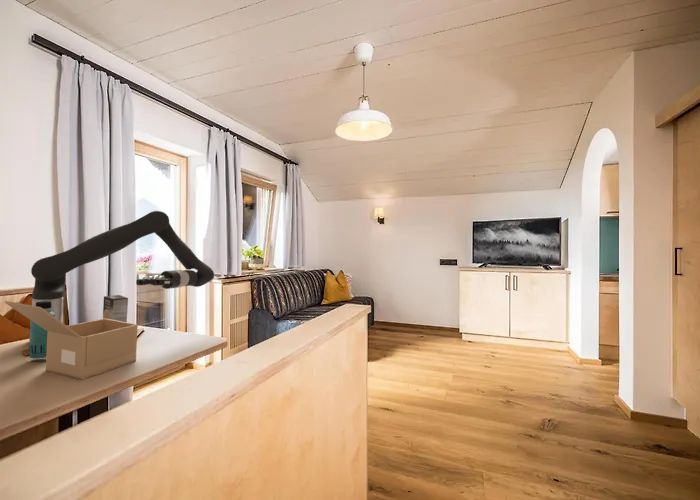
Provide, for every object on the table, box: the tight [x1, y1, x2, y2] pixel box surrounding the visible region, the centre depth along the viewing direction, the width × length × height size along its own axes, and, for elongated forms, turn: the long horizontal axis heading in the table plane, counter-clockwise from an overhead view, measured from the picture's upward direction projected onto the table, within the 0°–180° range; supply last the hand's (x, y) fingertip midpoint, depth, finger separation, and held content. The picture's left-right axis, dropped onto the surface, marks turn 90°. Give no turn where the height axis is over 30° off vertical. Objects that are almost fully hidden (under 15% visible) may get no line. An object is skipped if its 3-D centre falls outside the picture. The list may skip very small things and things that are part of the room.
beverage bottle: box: [28, 301, 55, 360], centre depth 115 cm, size 6×7×20 cm
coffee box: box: [102, 294, 129, 322], centre depth 150 cm, size 9×6×16 cm
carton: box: [45, 318, 138, 381], centre depth 113 cm, size 17×18×13 cm
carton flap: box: [4, 300, 81, 338], centre depth 99 cm, size 15×15×1 cm
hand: (137, 282), depth 128 cm, fingers closed
